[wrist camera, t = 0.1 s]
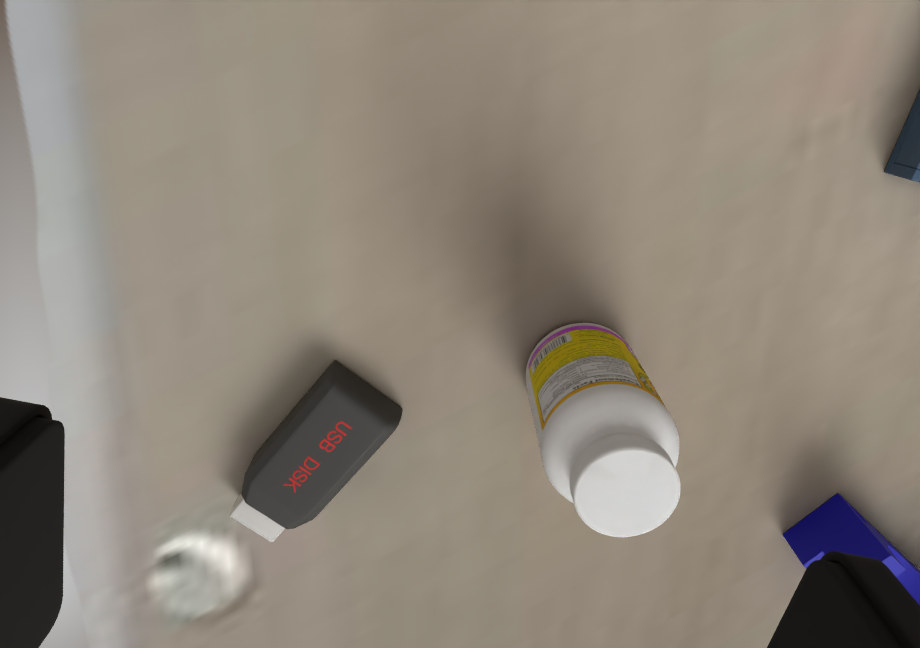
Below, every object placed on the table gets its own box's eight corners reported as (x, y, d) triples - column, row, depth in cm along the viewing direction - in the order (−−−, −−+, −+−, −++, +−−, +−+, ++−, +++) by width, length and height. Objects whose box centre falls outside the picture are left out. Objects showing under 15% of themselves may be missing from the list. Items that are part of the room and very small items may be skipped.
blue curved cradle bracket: (782, 534, 47) (826, 600, 41) (837, 492, 45) (890, 555, 40) (886, 627, 50) (940, 701, 44) (940, 591, 48) (1003, 662, 43)
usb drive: (403, 408, 43) (399, 431, 40) (292, 530, 46) (282, 558, 44) (335, 359, 42) (327, 379, 39) (226, 488, 45) (212, 514, 43)
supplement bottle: (626, 419, 43) (690, 560, 31) (520, 415, 43) (544, 555, 31) (641, 319, 41) (716, 431, 29) (529, 315, 41) (558, 425, 29)
